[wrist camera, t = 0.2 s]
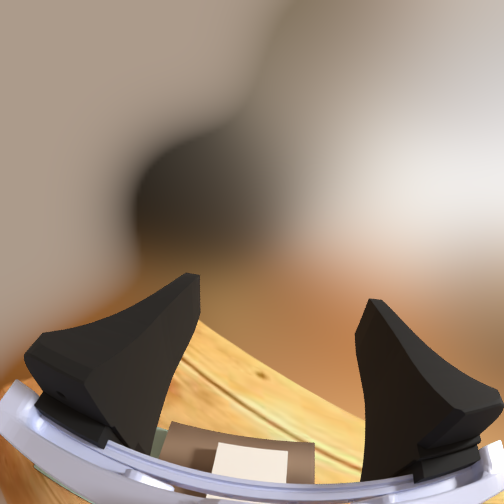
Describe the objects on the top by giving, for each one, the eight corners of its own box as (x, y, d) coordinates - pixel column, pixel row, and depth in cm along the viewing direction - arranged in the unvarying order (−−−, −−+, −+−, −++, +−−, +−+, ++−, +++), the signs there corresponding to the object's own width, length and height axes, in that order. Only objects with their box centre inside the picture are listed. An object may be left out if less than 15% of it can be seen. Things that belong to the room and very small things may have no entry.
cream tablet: (276, 531, 12) (281, 530, 11) (201, 522, 12) (200, 520, 12) (283, 458, 19) (288, 451, 19) (218, 449, 20) (218, 442, 19)
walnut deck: (301, 550, 12) (311, 549, 10) (144, 526, 12) (136, 523, 11) (306, 453, 22) (314, 442, 21) (174, 433, 23) (171, 421, 22)
